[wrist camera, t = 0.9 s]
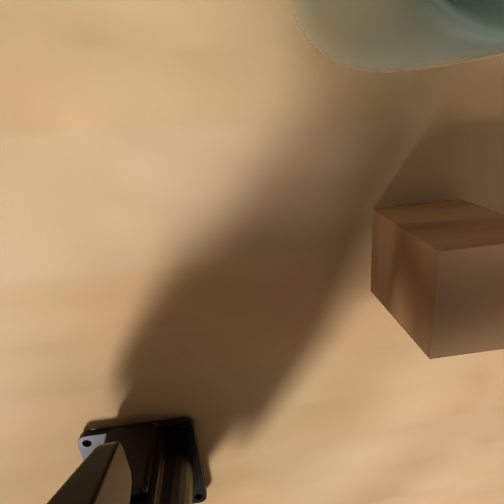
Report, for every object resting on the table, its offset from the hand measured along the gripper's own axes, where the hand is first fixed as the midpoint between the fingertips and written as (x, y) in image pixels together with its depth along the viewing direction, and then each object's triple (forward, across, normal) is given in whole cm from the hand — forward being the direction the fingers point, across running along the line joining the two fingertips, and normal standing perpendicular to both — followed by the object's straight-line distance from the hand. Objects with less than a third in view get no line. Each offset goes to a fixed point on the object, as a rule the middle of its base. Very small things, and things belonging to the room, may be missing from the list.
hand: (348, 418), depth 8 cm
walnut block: (+12, -8, +2) cm, 14 cm away
